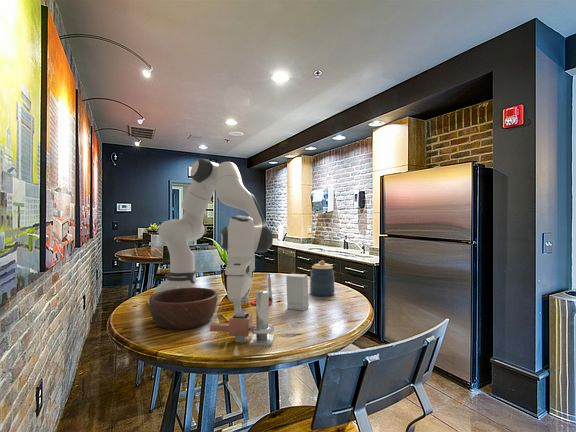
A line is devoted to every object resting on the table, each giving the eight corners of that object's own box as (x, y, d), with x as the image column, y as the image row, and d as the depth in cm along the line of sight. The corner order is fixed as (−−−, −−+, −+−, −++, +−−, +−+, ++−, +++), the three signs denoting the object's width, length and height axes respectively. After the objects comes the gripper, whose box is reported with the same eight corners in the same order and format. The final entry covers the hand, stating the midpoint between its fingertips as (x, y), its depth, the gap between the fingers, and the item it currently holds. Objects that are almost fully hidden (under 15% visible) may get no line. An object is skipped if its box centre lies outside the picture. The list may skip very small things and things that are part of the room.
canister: (321, 289, 172) (321, 257, 172) (339, 294, 163) (339, 260, 163) (304, 293, 164) (304, 260, 164) (323, 298, 154) (323, 262, 154)
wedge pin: (235, 342, 100) (235, 311, 100) (237, 338, 103) (237, 308, 103) (244, 342, 100) (245, 311, 100) (246, 338, 103) (247, 308, 103)
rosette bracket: (207, 344, 98) (207, 293, 98) (214, 335, 106) (214, 288, 106) (272, 346, 97) (272, 295, 97) (275, 336, 104) (275, 289, 104)
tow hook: (249, 306, 141) (271, 306, 140) (248, 276, 141) (269, 275, 141) (252, 301, 150) (273, 300, 149) (251, 272, 150) (271, 271, 150)
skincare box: (308, 307, 138) (309, 274, 138) (303, 311, 132) (303, 276, 132) (291, 305, 142) (292, 272, 142) (285, 308, 136) (285, 274, 136)
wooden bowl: (166, 310, 133) (166, 286, 133) (224, 311, 132) (224, 287, 132) (135, 332, 108) (135, 303, 108) (206, 333, 107) (206, 304, 107)
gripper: (239, 260, 112) (238, 298, 112) (223, 270, 92) (222, 317, 92) (256, 260, 112) (256, 299, 111) (244, 270, 91) (244, 317, 91)
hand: (241, 307), depth 101 cm, fingers open, 8 cm apart
